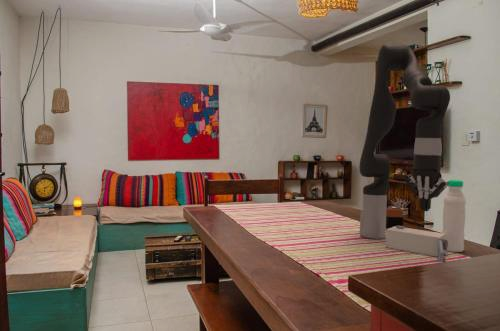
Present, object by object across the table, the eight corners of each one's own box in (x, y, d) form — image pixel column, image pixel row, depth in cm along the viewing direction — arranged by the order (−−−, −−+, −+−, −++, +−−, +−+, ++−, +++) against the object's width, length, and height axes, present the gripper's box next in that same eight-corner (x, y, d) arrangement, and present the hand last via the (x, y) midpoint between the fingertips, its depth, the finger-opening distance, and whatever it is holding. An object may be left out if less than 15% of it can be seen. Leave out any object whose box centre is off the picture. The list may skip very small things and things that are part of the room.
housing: (385, 247, 146) (386, 227, 145) (394, 243, 152) (395, 224, 151) (442, 257, 133) (443, 235, 133) (449, 253, 139) (450, 232, 139)
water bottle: (437, 248, 145) (439, 179, 144) (451, 246, 148) (454, 179, 146) (453, 253, 139) (456, 181, 137) (468, 251, 141) (471, 180, 140)
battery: (403, 230, 176) (404, 207, 175) (387, 229, 176) (388, 207, 176) (400, 228, 180) (400, 205, 180) (384, 227, 181) (385, 205, 180)
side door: (444, 272, 117) (445, 252, 117) (439, 272, 117) (440, 251, 117) (442, 257, 133) (443, 239, 133) (438, 256, 134) (438, 238, 133)
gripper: (400, 152, 123) (397, 208, 124) (443, 154, 113) (440, 215, 114) (413, 152, 127) (410, 206, 129) (456, 154, 117) (452, 213, 118)
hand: (424, 210), depth 121 cm, fingers closed
